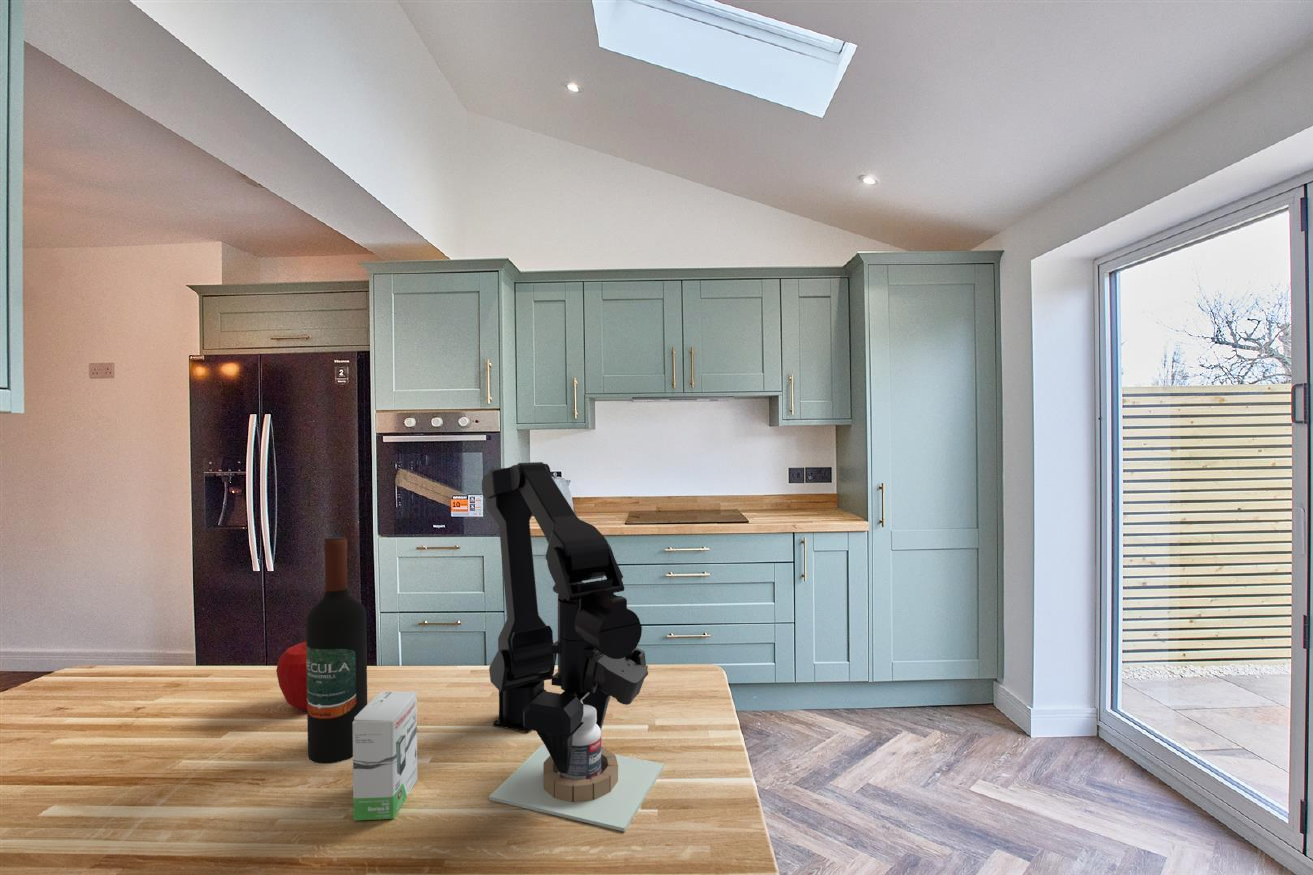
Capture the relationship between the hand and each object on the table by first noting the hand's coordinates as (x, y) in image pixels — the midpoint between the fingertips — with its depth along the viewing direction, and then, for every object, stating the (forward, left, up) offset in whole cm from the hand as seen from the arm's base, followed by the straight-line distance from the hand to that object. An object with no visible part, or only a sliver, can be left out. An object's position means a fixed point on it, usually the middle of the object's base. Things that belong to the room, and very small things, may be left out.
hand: (580, 753), depth 80 cm
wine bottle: (-36, -4, -4) cm, 36 cm away
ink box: (-21, -11, -4) cm, 24 cm away
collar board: (0, 0, -4) cm, 4 cm away
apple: (-51, +5, -4) cm, 51 cm away
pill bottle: (0, 0, -4) cm, 4 cm away
